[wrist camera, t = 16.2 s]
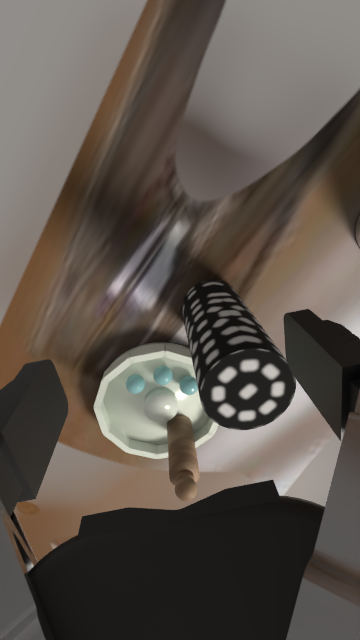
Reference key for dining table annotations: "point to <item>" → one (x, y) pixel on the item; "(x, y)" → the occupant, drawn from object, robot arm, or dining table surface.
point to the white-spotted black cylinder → (234, 359)
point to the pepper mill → (182, 457)
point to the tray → (150, 399)
